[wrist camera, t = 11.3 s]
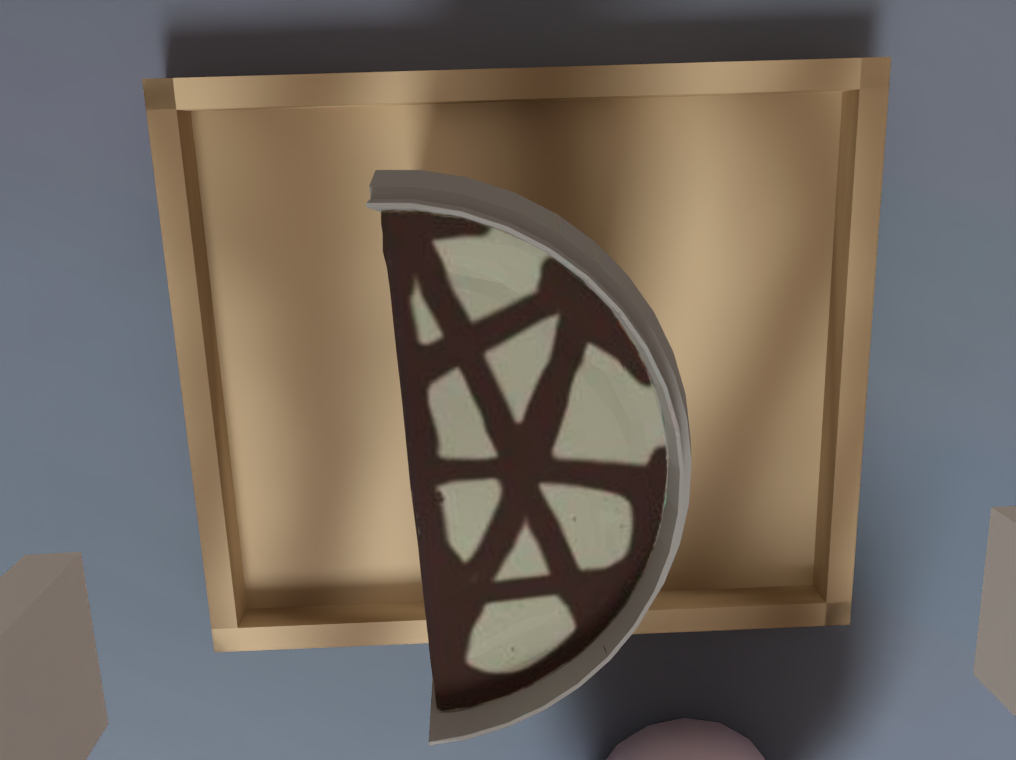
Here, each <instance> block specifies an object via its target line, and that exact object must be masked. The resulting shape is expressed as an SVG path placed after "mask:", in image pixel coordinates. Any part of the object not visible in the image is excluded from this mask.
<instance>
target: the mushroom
mask: <svg viewBox="0 0 1016 760" xmlns="http://www.w3.org/2000/svg"><path fill="white" fill-rule="evenodd" d="M606 760H765V759H764V757H763V756H762V755H761V753H760V752H759V751H758V749H757V748H756V747H755V746H754V744H753V743H752V742H751V740H750V739H748V738H746V737H745V736H743V735H741V734H739V733H738V732H736V731H734V730H732V729H730V728H729V727H727V726H725V725H723V724H722V723H719V722H712V721H704V720H697V719H690V718H681V719H676V720H671V721H667V722H662V723H657V724H653V725H648V726H646V727H645V728H643V729H641V730H640V731H638V732H637V733H635V734H633V735H632V736H630V737H629V738H627V739H625V740H624V741H622V742H620V743H619V744H617V745H616V747H615V748H614V749H613V751H612V752H611V753H610V755H609V756H608V757H607V759H606Z"/></svg>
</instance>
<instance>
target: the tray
mask: <svg viewBox="0 0 1016 760" xmlns="http://www.w3.org/2000/svg"><path fill="white" fill-rule="evenodd" d="M890 66H891V57H870V58H836V59H802V60H768V61H734V62H700V63H666V64H632V65H598V66H564V67H530V68H496V69H462V70H428V71H394V72H360V73H326V74H292V75H258V76H224V77H190V78H156V79H142V82H143V90H144V97H145V105H146V113H147V121H148V129H149V137H150V145H151V153H152V161H153V169H154V177H155V185H156V192H157V200H158V208H159V216H160V224H161V232H162V240H163V248H164V256H165V264H166V272H167V280H168V287H169V295H170V303H171V311H172V319H173V327H174V335H175V343H176V351H177V359H178V367H179V375H180V383H181V390H182V398H183V406H184V414H185V422H186V430H187V438H188V446H189V454H190V462H191V470H192V478H193V485H194V493H195V501H196V509H197V517H198V525H199V533H200V541H201V549H202V557H203V565H204V573H205V580H206V588H207V596H208V604H209V612H210V620H211V628H212V636H213V644H214V652H231V651H254V650H277V649H301V648H324V647H347V646H370V645H393V644H417V643H429V642H428V633H427V624H426V615H425V606H424V597H423V588H422V579H421V570H420V560H419V551H418V542H417V534H416V526H415V519H414V511H413V503H412V496H411V488H410V478H409V468H408V458H407V447H406V437H405V427H404V417H403V406H402V397H401V388H400V379H399V371H398V362H397V353H396V344H395V334H394V324H393V315H392V305H391V295H390V287H389V280H388V272H387V266H386V262H385V258H384V254H383V233H382V227H381V212H378V211H375V210H372V209H370V208H367V205H366V203H367V202H368V201H369V200H370V191H369V185H370V183H371V180H372V178H373V175H374V173H375V171H376V170H424V171H430V172H437V173H443V174H449V175H456V176H462V177H469V178H472V179H475V180H478V181H481V182H484V183H487V184H490V185H493V186H496V187H499V188H503V189H506V190H509V191H512V192H515V193H517V194H519V195H521V196H523V197H525V198H527V199H529V200H530V201H532V202H534V203H536V204H538V205H540V206H542V207H544V208H546V209H548V210H550V211H552V212H554V213H556V214H558V215H559V216H561V217H562V218H563V219H565V220H566V221H567V222H569V223H570V224H571V225H573V226H574V227H576V228H577V229H578V230H580V231H581V232H582V233H584V234H585V235H586V236H588V237H589V238H591V239H592V240H593V241H595V242H596V243H597V244H598V245H599V246H600V247H601V248H602V249H603V250H604V251H605V252H606V253H607V254H608V255H609V256H610V257H611V258H612V259H613V260H614V261H615V262H616V263H617V264H618V265H619V266H620V267H621V269H622V270H623V271H624V272H625V273H626V274H627V275H628V276H629V277H630V279H631V280H632V281H633V283H634V284H635V286H636V287H637V289H638V290H639V291H640V293H641V294H642V296H643V297H644V298H645V300H646V301H647V303H648V304H649V306H650V307H651V308H652V310H653V311H654V313H655V315H656V317H657V319H658V321H659V323H660V325H661V327H662V329H663V332H664V334H665V336H666V338H667V340H668V342H669V344H670V346H671V348H672V350H673V352H674V356H675V359H676V363H677V366H678V370H679V373H680V376H681V380H682V383H683V387H684V390H685V394H686V402H687V410H688V419H689V428H690V436H691V459H692V462H691V479H690V496H689V506H688V510H687V515H686V519H685V524H684V528H683V532H682V537H681V541H680V545H679V548H678V550H677V553H676V555H675V557H674V560H673V562H672V565H671V567H670V570H669V572H668V575H667V577H666V580H665V582H664V584H663V586H662V587H661V589H660V591H659V592H658V594H657V596H656V597H655V599H654V601H653V602H652V604H651V606H650V607H649V609H648V611H647V612H646V614H645V616H644V617H643V619H642V621H641V622H640V624H639V626H638V627H637V629H636V630H635V631H634V632H633V634H648V633H672V632H695V631H718V630H741V629H764V628H788V627H811V626H834V625H850V616H851V602H852V588H853V574H854V561H855V547H856V533H857V519H858V506H859V492H860V478H861V465H862V451H863V437H864V423H865V410H866V396H867V382H868V368H869V355H870V341H871V327H872V313H873V300H874V286H875V272H876V258H877V245H878V231H879V217H880V203H881V190H882V176H883V162H884V148H885V135H886V121H887V107H888V94H889V80H890Z"/></svg>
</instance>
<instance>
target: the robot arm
mask: <svg viewBox="0 0 1016 760" xmlns="http://www.w3.org/2000/svg"><path fill="white" fill-rule="evenodd" d="M973 674H974V675H975V677H976V678H977V679H978V680H979V681H980V682H981V683H982V684H983V685H984V686H985V687H986V688H987V689H988V690H989V691H990V692H991V693H992V694H993V695H994V696H995V697H996V698H997V699H998V700H999V701H1000V702H1001V703H1002V704H1003V705H1004V706H1005V707H1006V708H1007V709H1008V710H1009V711H1010V712H1011V713H1012V714H1013V715H1014V716H1015V717H1016V506H1007V507H991V516H990V525H989V534H988V543H987V553H986V562H985V571H984V580H983V589H982V599H981V608H980V617H979V626H978V636H977V645H976V654H975V663H974V672H973ZM107 725H108V719H107V713H106V707H105V700H104V694H103V688H102V681H101V675H100V669H99V663H98V656H97V650H96V644H95V638H94V631H93V625H92V619H91V613H90V606H89V600H88V594H87V588H86V581H85V575H84V569H83V562H82V556H81V552H73V553H53V554H33V555H25V556H23V557H22V558H21V559H20V560H19V561H18V562H17V563H16V564H15V565H14V566H13V567H11V568H10V569H9V570H8V571H7V572H6V573H5V574H4V575H3V576H2V577H0V760H86V759H87V757H88V756H89V754H90V752H91V751H92V749H93V747H94V746H95V744H96V743H97V741H98V739H99V738H100V736H101V735H102V733H103V731H104V730H105V728H106V727H107Z"/></svg>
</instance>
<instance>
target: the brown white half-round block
mask: <svg viewBox="0 0 1016 760" xmlns="http://www.w3.org/2000/svg"><path fill="white" fill-rule="evenodd" d="M369 191H370V200H369V201H368V202H367V203H366V205H367V208H370V209H372V210H375V211H378V212H381V227H382V233H383V254H384V258H385V262H386V266H387V272H388V280H389V287H390V295H391V305H392V315H393V324H394V334H395V344H396V353H397V362H398V371H399V379H400V388H401V397H402V406H403V417H404V427H405V437H406V447H407V458H408V468H409V478H410V488H411V496H412V503H413V511H414V519H415V526H416V534H417V542H418V551H419V560H420V570H421V579H422V588H423V597H424V606H425V615H426V624H427V633H428V642H429V651H430V659H431V667H432V675H433V681H432V698H431V714H430V731H429V745H435V744H441V743H447V742H453V741H459V740H466V739H470V738H473V737H477V736H480V735H483V734H486V733H490V732H493V731H496V730H500V729H503V728H506V727H509V726H511V725H513V724H515V723H518V722H520V721H522V720H524V719H526V718H528V717H530V716H533V715H535V714H537V713H539V712H541V711H543V710H545V709H547V708H549V707H550V706H552V705H553V704H555V703H556V702H558V701H559V700H561V699H562V698H564V697H565V696H567V695H568V694H570V693H572V692H573V691H575V690H576V689H578V688H579V687H580V686H582V685H583V684H584V683H585V682H586V681H587V680H588V679H590V678H591V677H592V676H593V675H594V674H595V673H596V672H597V671H599V670H600V669H601V668H602V667H603V666H604V665H605V664H606V663H608V662H609V661H610V660H611V659H612V658H613V656H614V655H615V654H616V653H617V652H618V650H619V649H620V648H621V647H622V646H623V644H624V643H625V642H626V641H627V640H628V638H629V637H630V636H631V635H632V634H633V632H634V631H635V630H636V629H637V627H638V626H639V624H640V622H641V621H642V619H643V617H644V616H645V614H646V612H647V611H648V609H649V607H650V606H651V604H652V602H653V601H654V599H655V597H656V596H657V594H658V592H659V591H660V589H661V587H662V586H663V584H664V582H665V580H666V577H667V575H668V572H669V570H670V567H671V565H672V562H673V560H674V557H675V555H676V553H677V550H678V548H679V545H680V541H681V537H682V532H683V528H684V524H685V519H686V515H687V510H688V506H689V496H690V479H691V462H692V459H691V436H690V428H689V419H688V410H687V402H686V394H685V390H684V387H683V383H682V380H681V376H680V373H679V370H678V366H677V363H676V359H675V356H674V352H673V350H672V348H671V346H670V344H669V342H668V340H667V338H666V336H665V334H664V332H663V329H662V327H661V325H660V323H659V321H658V319H657V317H656V315H655V313H654V311H653V310H652V308H651V307H650V306H649V304H648V303H647V301H646V300H645V298H644V297H643V296H642V294H641V293H640V291H639V290H638V289H637V287H636V286H635V284H634V283H633V281H632V280H631V279H630V277H629V276H628V275H627V274H626V273H625V272H624V271H623V270H622V269H621V267H620V266H619V265H618V264H617V263H616V262H615V261H614V260H613V259H612V258H611V257H610V256H609V255H608V254H607V253H606V252H605V251H604V250H603V249H602V248H601V247H600V246H599V245H598V244H597V243H596V242H595V241H593V240H592V239H591V238H589V237H588V236H586V235H585V234H584V233H582V232H581V231H580V230H578V229H577V228H576V227H574V226H573V225H571V224H570V223H569V222H567V221H566V220H565V219H563V218H562V217H561V216H559V215H558V214H556V213H554V212H552V211H550V210H548V209H546V208H544V207H542V206H540V205H538V204H536V203H534V202H532V201H530V200H529V199H527V198H525V197H523V196H521V195H519V194H517V193H515V192H512V191H509V190H506V189H503V188H499V187H496V186H493V185H490V184H487V183H484V182H481V181H478V180H475V179H472V178H469V177H462V176H456V175H449V174H443V173H437V172H430V171H424V170H376V171H375V173H374V175H373V178H372V180H371V183H370V185H369Z"/></svg>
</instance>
